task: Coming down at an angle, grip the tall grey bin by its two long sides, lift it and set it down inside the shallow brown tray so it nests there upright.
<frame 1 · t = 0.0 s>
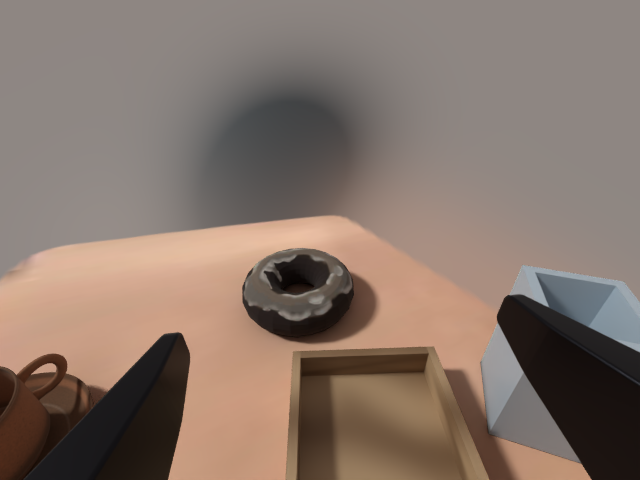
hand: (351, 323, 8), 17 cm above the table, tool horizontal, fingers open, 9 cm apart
donut: (299, 302, 33), on the table
shallow brown tray: (373, 445, 20), on the table
tall grey bin: (524, 405, 22), on the table
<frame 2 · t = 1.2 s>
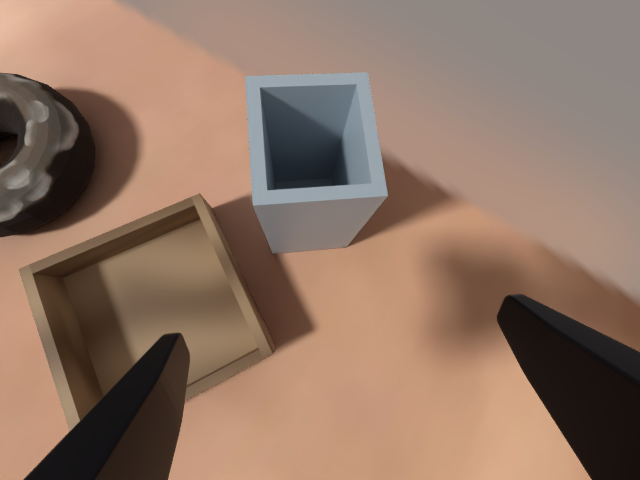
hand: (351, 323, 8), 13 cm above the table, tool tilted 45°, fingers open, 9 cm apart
donut: (25, 168, 22), on the table
shallow brown tray: (166, 311, 20), on the table
tall grey bin: (306, 212, 23), on the table
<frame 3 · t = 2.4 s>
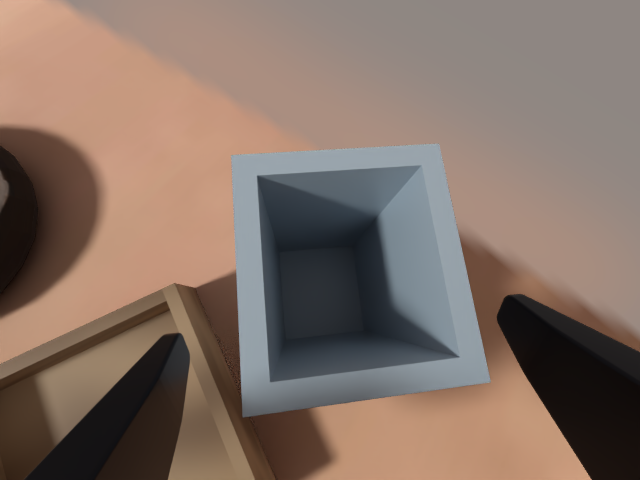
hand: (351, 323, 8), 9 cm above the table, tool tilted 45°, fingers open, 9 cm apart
shallow brown tray: (129, 440, 15), on the table
tall grey bin: (319, 291, 17), on the table
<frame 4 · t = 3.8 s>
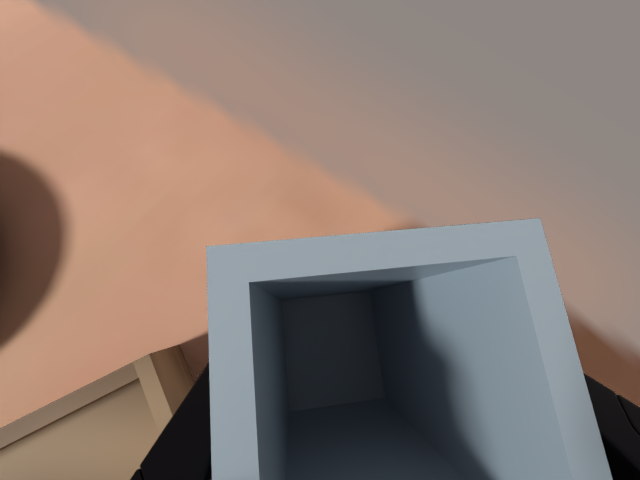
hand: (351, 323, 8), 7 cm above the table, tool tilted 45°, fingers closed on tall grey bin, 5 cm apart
tall grey bin: (330, 346, 14), on the table, touching gripper
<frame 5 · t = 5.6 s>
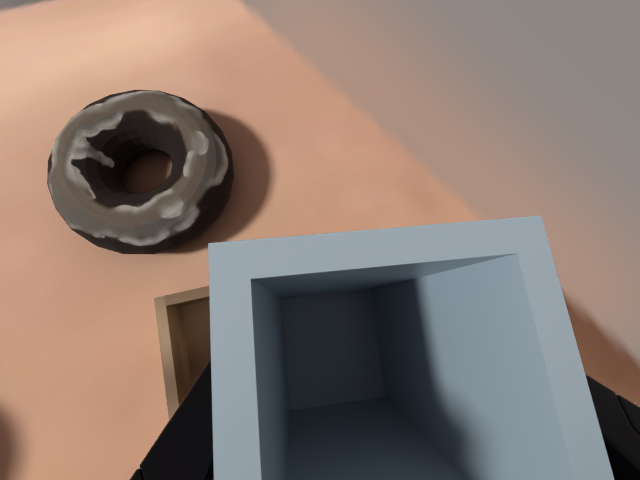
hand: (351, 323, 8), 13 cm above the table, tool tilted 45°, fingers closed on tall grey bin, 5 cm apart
donut: (160, 183, 23), on the table
shallow brown tray: (269, 361, 20), on the table
tall grey bin: (330, 345, 14), point 7 cm above the table, touching gripper
when the fingers open (8 cm above the table, at t = 7.5 s): tall grey bin drops 1 cm, resting on shallow brown tray.
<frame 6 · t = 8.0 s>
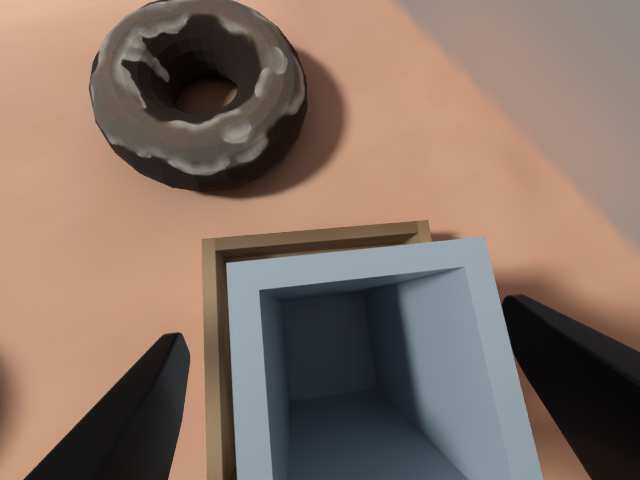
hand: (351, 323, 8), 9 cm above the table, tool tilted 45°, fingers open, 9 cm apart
donut: (215, 116, 19), on the table
shallow brown tray: (326, 341, 16), on the table
tall grey bin: (327, 342, 16), resting on shallow brown tray
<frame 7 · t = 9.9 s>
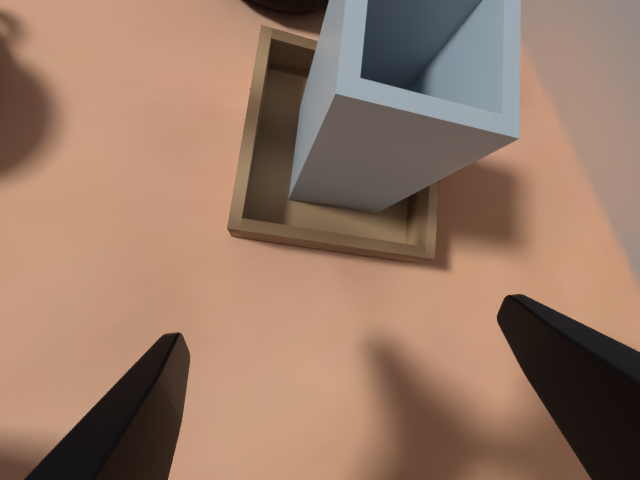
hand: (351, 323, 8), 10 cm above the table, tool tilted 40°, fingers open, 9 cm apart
shallow brown tray: (335, 163, 19), on the table
tall grey bin: (337, 160, 19), resting on shallow brown tray
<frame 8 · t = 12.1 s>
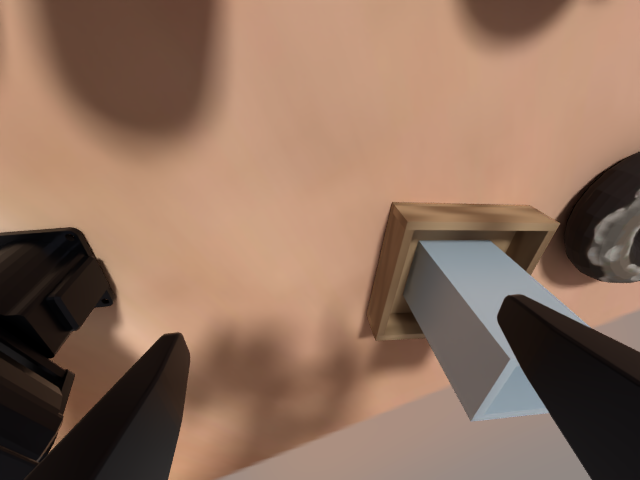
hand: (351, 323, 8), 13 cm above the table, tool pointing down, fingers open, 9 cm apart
donut: (619, 205, 25), on the table
shallow brown tray: (441, 264, 25), on the table
tall grey bin: (444, 268, 25), resting on shallow brown tray
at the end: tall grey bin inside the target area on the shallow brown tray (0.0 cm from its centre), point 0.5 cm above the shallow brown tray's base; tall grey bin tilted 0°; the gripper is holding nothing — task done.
